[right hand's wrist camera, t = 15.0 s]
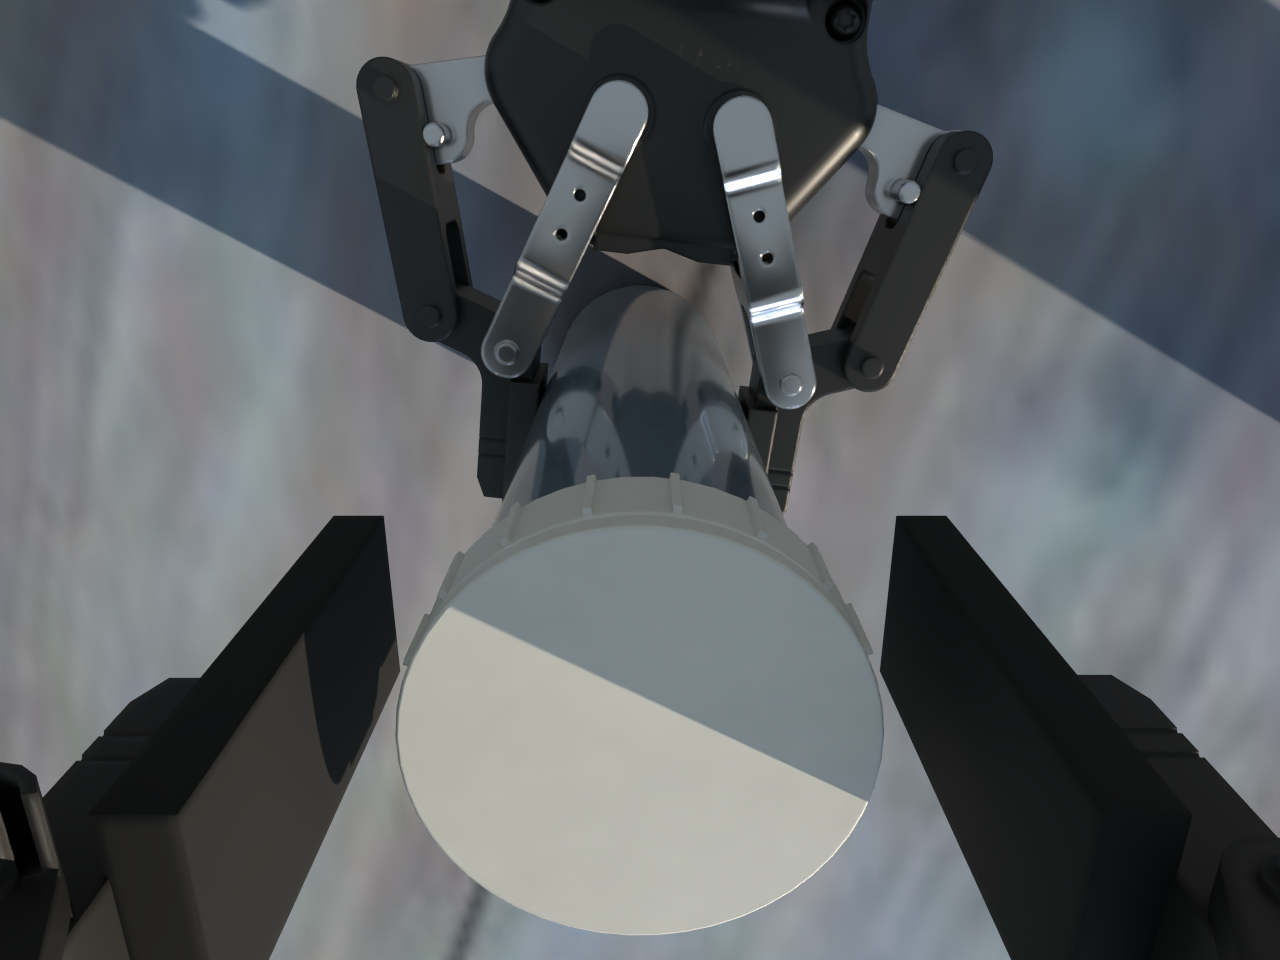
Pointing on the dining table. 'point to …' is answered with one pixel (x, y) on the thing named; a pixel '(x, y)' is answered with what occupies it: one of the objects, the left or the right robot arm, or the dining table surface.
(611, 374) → the jar
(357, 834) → the dining table surface
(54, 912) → the right robot arm
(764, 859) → the lid
